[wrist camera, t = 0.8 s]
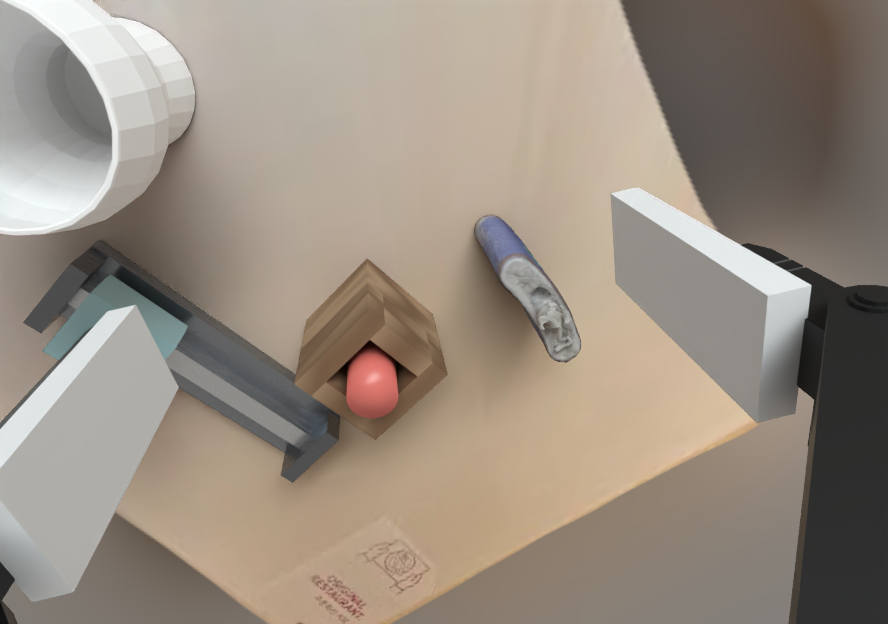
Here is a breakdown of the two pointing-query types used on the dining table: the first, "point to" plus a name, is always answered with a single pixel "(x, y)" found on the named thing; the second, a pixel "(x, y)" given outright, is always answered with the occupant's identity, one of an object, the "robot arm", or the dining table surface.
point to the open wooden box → (355, 323)
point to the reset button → (371, 382)
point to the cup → (82, 113)
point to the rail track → (215, 347)
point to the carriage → (94, 308)
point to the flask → (529, 287)
